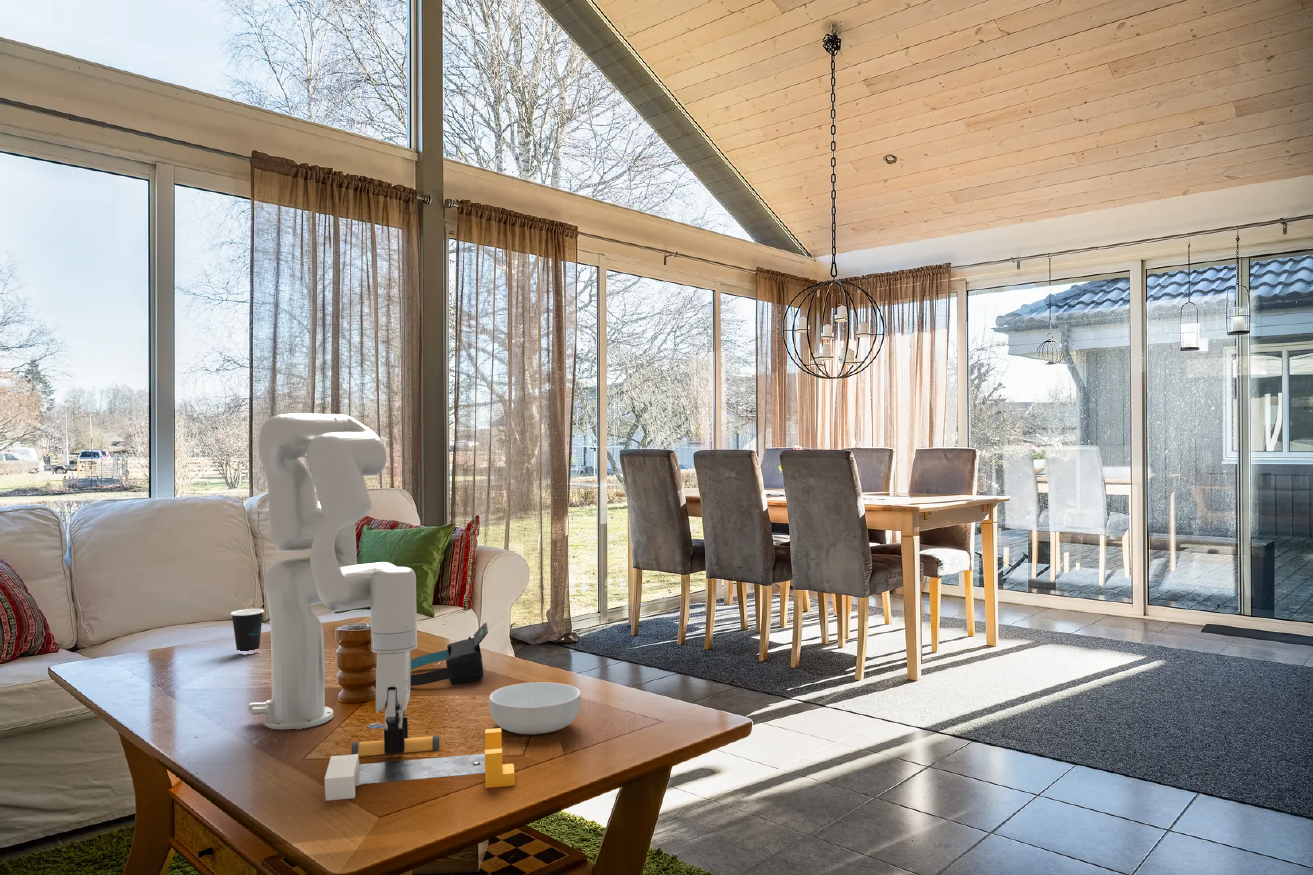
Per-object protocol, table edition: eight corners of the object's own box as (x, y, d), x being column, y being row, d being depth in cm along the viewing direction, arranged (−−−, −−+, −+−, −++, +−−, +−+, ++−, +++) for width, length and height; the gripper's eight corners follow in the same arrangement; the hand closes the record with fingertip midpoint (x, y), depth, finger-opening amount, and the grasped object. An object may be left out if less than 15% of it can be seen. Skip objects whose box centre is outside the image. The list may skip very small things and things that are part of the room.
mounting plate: (339, 794, 134) (339, 784, 134) (348, 772, 143) (348, 764, 143) (485, 780, 138) (485, 771, 138) (486, 760, 147) (485, 752, 147)
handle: (351, 764, 147) (351, 745, 147) (354, 758, 150) (354, 739, 150) (438, 756, 150) (438, 738, 150) (439, 751, 153) (439, 733, 153)
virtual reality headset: (496, 678, 197) (488, 635, 196) (396, 703, 192) (387, 658, 192) (493, 658, 215) (486, 618, 215) (402, 680, 210) (394, 639, 210)
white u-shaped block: (326, 808, 129) (324, 778, 128) (332, 784, 135) (331, 756, 134) (354, 805, 130) (353, 776, 129) (360, 782, 135) (358, 754, 134)
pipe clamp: (514, 794, 133) (513, 751, 133) (485, 797, 132) (484, 754, 132) (512, 766, 145) (512, 727, 145) (486, 769, 144) (485, 729, 144)
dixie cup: (260, 655, 228) (260, 613, 229) (227, 657, 227) (227, 615, 227) (267, 648, 236) (266, 607, 236) (235, 651, 235) (235, 609, 235)
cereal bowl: (555, 751, 151) (554, 710, 151) (472, 742, 157) (471, 702, 157) (596, 721, 167) (595, 684, 167) (519, 714, 173) (518, 678, 173)
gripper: (377, 631, 158) (379, 733, 158) (364, 653, 141) (366, 766, 141) (420, 629, 159) (422, 729, 159) (412, 650, 142) (414, 762, 142)
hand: (396, 746), depth 150 cm, fingers open, 5 cm apart
